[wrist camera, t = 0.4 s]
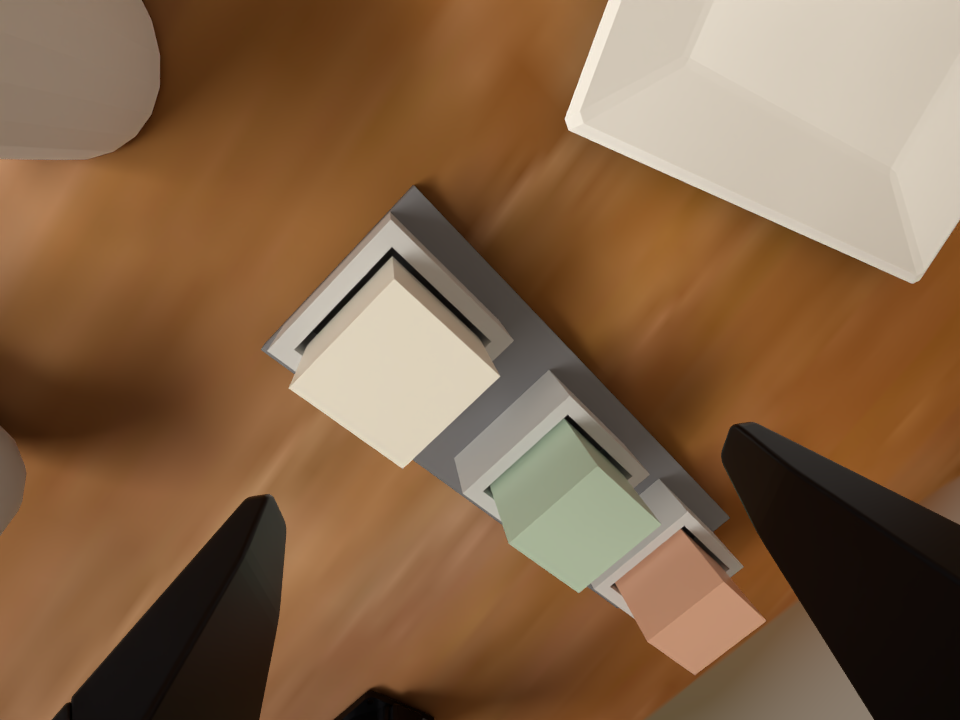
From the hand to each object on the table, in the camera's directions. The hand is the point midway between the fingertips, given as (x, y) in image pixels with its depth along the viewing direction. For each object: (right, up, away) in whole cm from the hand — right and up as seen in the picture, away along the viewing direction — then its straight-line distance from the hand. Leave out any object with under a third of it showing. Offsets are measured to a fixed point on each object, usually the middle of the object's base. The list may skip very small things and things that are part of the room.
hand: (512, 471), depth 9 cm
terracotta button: (+11, -11, +19) cm, 24 cm away
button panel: (+3, -3, +18) cm, 18 cm away
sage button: (+3, -4, +15) cm, 16 cm away
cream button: (-4, +3, +10) cm, 11 cm away
